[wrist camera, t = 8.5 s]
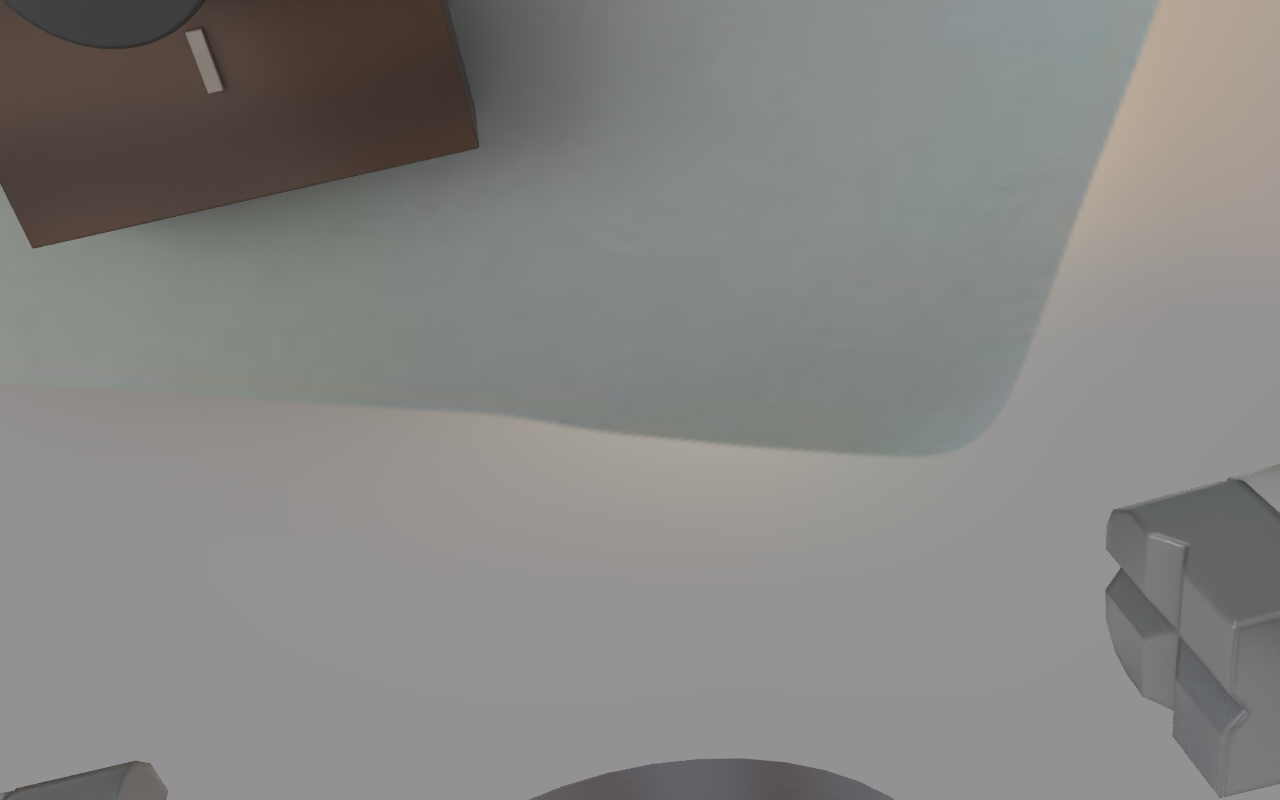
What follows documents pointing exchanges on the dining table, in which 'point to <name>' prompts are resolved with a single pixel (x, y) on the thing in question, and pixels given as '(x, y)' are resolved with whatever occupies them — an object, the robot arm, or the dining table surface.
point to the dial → (107, 20)
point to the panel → (223, 109)
